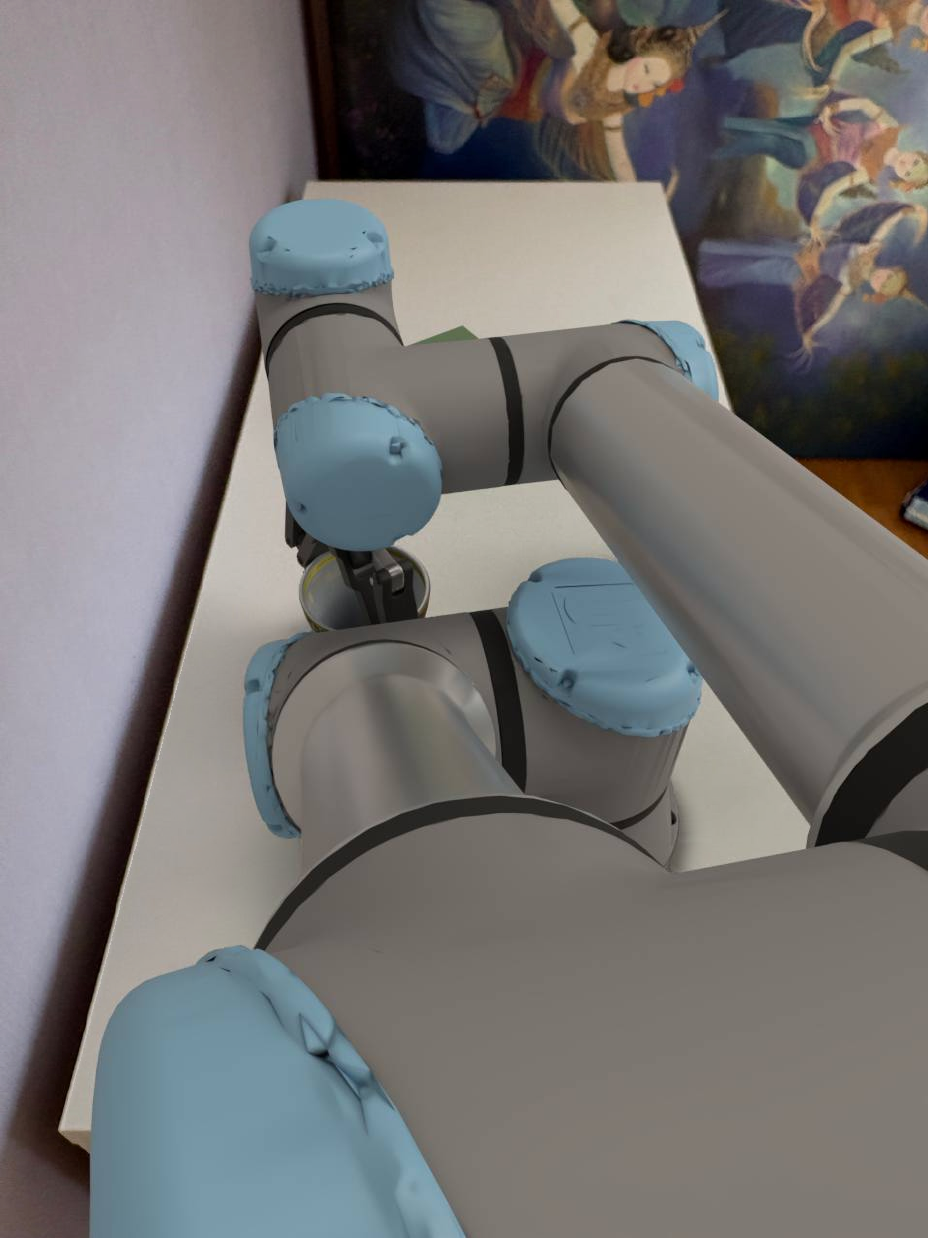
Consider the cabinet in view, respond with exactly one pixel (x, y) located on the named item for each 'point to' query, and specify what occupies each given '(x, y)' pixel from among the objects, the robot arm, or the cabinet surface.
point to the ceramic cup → (348, 592)
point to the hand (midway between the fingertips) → (358, 660)
